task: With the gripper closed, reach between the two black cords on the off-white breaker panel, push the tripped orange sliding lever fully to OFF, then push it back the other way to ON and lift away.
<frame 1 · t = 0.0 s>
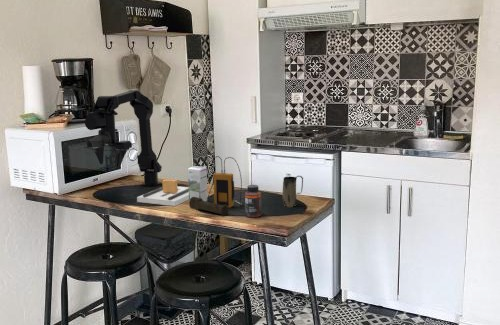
hand: (110, 164, 209), 15 cm above the table, fingers open, 9 cm apart
multimeter: (227, 204, 202), on the table
supplement bottle: (253, 216, 186), on the table
mug: (292, 206, 199), on the table
breaker panel: (170, 197, 214), on the table
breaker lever: (170, 186, 213), point 5 cm above the table, slide at 5.0 cm
syrup box: (198, 202, 205), on the table
hand tool: (206, 212, 193), on the table
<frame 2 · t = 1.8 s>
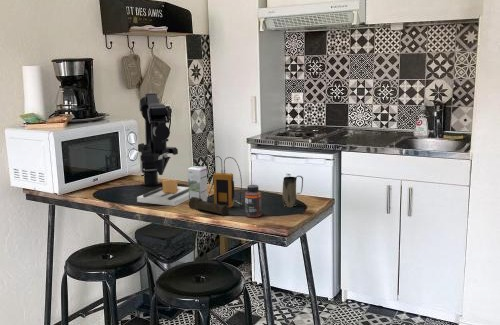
hand: (160, 174, 206), 11 cm above the table, fingers closed
nothing on the table moved.
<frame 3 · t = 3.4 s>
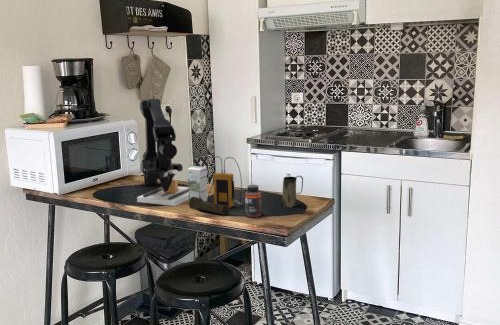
hand: (165, 191, 210), 3 cm above the table, fingers closed
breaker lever: (170, 186, 213), point 5 cm above the table, slide at 4.8 cm, touching gripper
everything else where it was.
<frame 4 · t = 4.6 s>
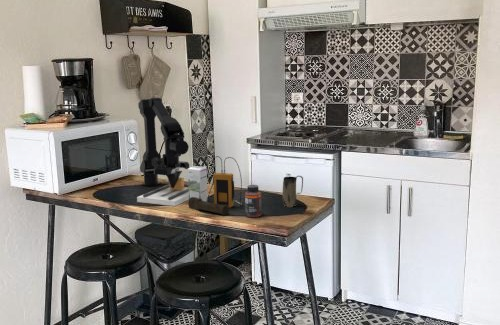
hand: (172, 188, 215), 3 cm above the table, fingers closed
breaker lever: (176, 183, 218), point 5 cm above the table, slide at -0.4 cm, touching gripper
everything else where it was.
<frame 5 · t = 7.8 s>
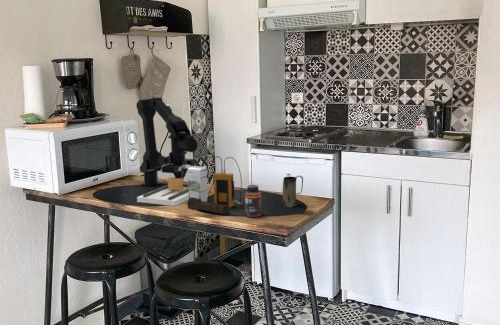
hand: (179, 185, 220), 4 cm above the table, fingers closed
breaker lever: (175, 183, 217), point 5 cm above the table, slide at 0.7 cm, touching gripper
everything else where it was.
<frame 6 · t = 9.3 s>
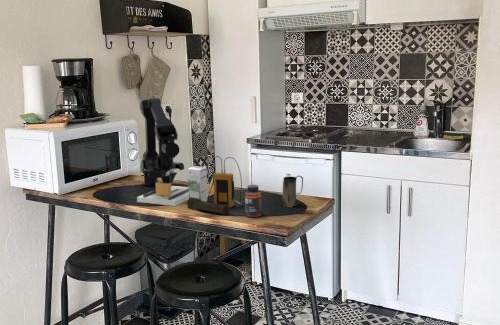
hand: (167, 190, 211), 4 cm above the table, fingers closed
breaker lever: (163, 188, 208), point 5 cm above the table, slide at 10.1 cm, touching gripper
everything else where it was.
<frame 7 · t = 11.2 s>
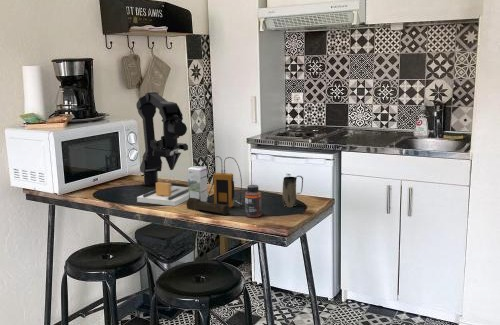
hand: (171, 169, 215), 11 cm above the table, fingers closed
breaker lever: (163, 188, 208), point 5 cm above the table, slide at 10.1 cm
everything else where it was.
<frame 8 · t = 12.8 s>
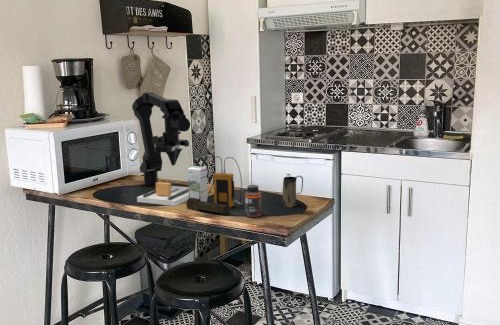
hand: (173, 165, 220), 12 cm above the table, fingers closed
nothing on the table moved.
at the end: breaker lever slide at 10.1 cm; syrup box moved 0.2 cm from its start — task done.
